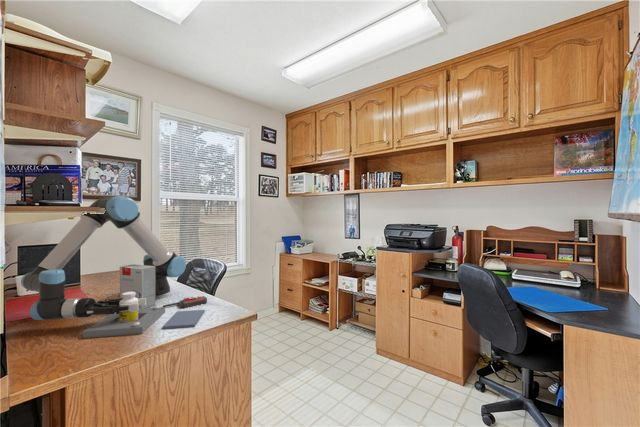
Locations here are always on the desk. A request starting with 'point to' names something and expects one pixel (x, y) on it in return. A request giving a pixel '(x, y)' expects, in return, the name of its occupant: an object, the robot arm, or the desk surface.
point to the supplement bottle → (128, 315)
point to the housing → (125, 324)
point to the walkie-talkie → (189, 302)
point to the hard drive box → (139, 282)
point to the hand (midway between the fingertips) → (141, 304)
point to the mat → (184, 319)
